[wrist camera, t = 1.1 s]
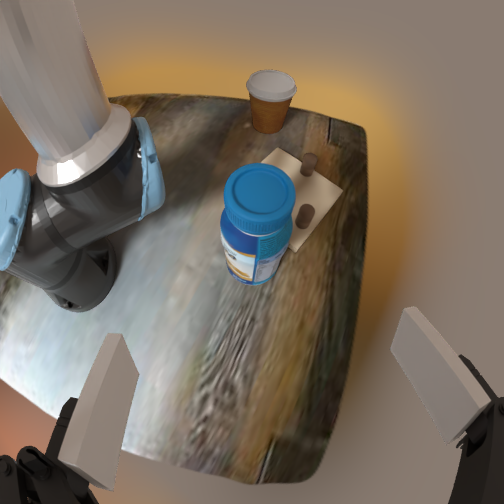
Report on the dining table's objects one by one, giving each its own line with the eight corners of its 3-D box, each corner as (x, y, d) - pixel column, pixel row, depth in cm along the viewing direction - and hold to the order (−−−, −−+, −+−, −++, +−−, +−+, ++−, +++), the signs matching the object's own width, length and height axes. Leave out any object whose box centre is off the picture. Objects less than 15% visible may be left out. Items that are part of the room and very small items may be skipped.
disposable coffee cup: (293, 138, 53) (303, 94, 42) (248, 140, 52) (250, 95, 41) (284, 110, 56) (290, 68, 45) (242, 112, 55) (243, 69, 44)
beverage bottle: (278, 288, 42) (308, 234, 23) (223, 285, 41) (208, 228, 23) (279, 237, 45) (303, 158, 26) (227, 234, 44) (219, 152, 26)
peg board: (225, 200, 47) (223, 182, 42) (276, 152, 51) (279, 133, 46) (295, 252, 44) (302, 239, 39) (340, 194, 48) (350, 177, 43)
